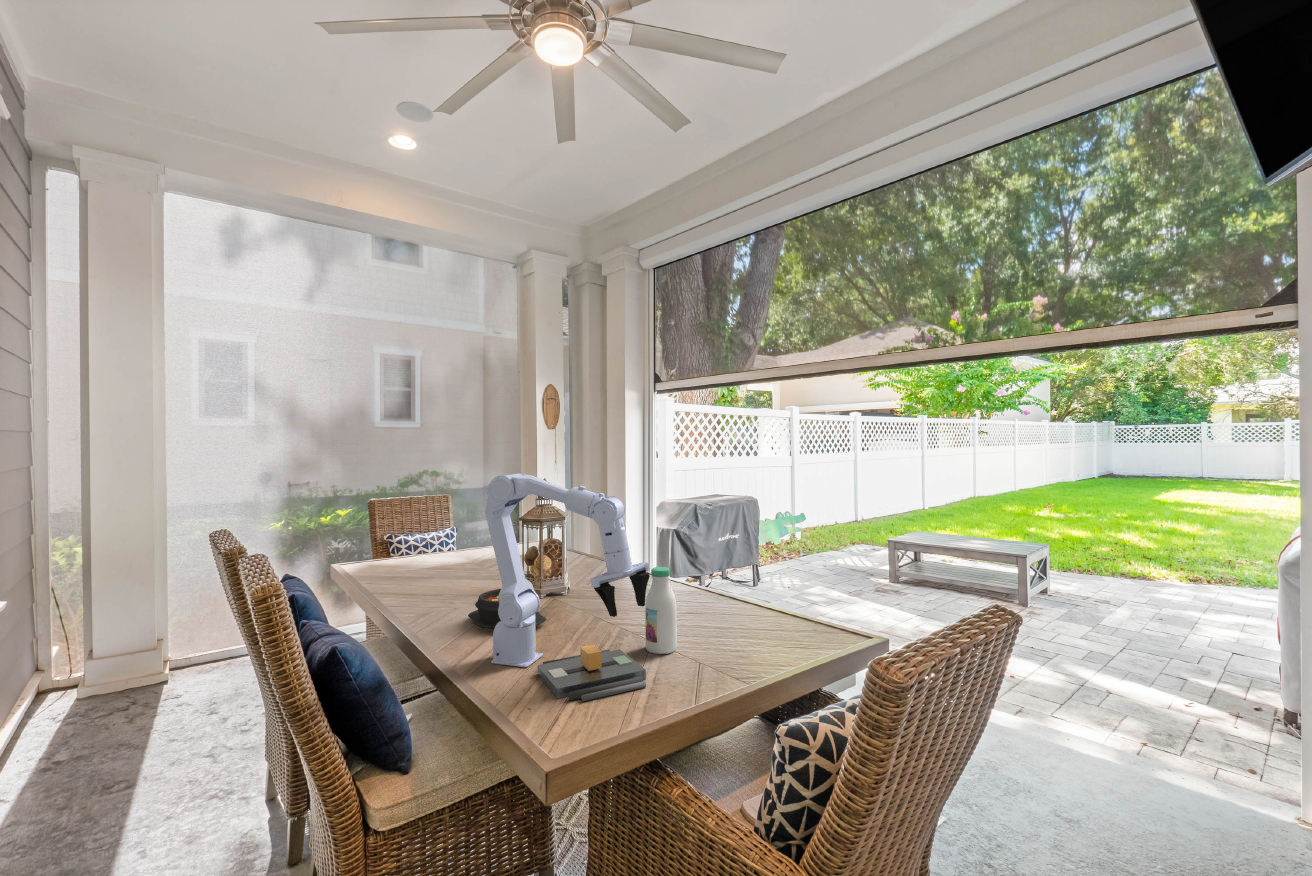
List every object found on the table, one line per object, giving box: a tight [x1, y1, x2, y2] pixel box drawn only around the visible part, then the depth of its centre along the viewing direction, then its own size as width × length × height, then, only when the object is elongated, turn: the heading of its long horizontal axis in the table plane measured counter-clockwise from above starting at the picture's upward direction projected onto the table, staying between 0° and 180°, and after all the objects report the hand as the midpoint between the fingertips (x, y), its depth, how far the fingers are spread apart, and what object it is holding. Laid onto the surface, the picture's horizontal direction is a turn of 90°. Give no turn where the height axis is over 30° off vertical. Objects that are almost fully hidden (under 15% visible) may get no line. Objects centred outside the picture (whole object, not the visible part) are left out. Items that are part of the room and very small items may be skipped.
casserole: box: [467, 588, 547, 630], centre depth 168 cm, size 25×19×8 cm
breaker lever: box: [579, 644, 602, 671], centre depth 131 cm, size 3×5×4 cm, turn 27°
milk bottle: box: [644, 566, 678, 655], centre depth 147 cm, size 8×8×20 cm
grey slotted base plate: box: [542, 649, 647, 703], centre depth 130 cm, size 16×21×2 cm
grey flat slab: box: [537, 648, 647, 700], centre depth 131 cm, size 20×14×2 cm
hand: (627, 610), depth 133 cm, fingers open, 7 cm apart
